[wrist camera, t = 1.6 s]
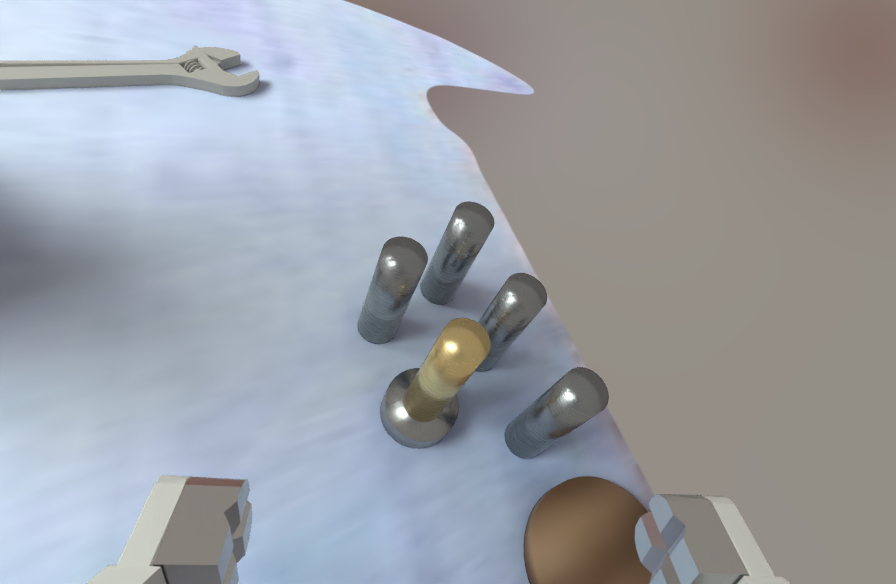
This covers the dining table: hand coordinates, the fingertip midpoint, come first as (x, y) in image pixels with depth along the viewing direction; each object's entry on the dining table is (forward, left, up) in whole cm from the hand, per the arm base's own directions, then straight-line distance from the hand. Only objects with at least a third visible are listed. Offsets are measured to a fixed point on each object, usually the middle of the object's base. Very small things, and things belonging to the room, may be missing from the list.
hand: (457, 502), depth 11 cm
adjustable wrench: (-49, +7, -28) cm, 57 cm away
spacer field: (-9, +18, -27) cm, 34 cm away
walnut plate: (+9, +17, -27) cm, 33 cm away
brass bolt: (-7, +12, -27) cm, 31 cm away
